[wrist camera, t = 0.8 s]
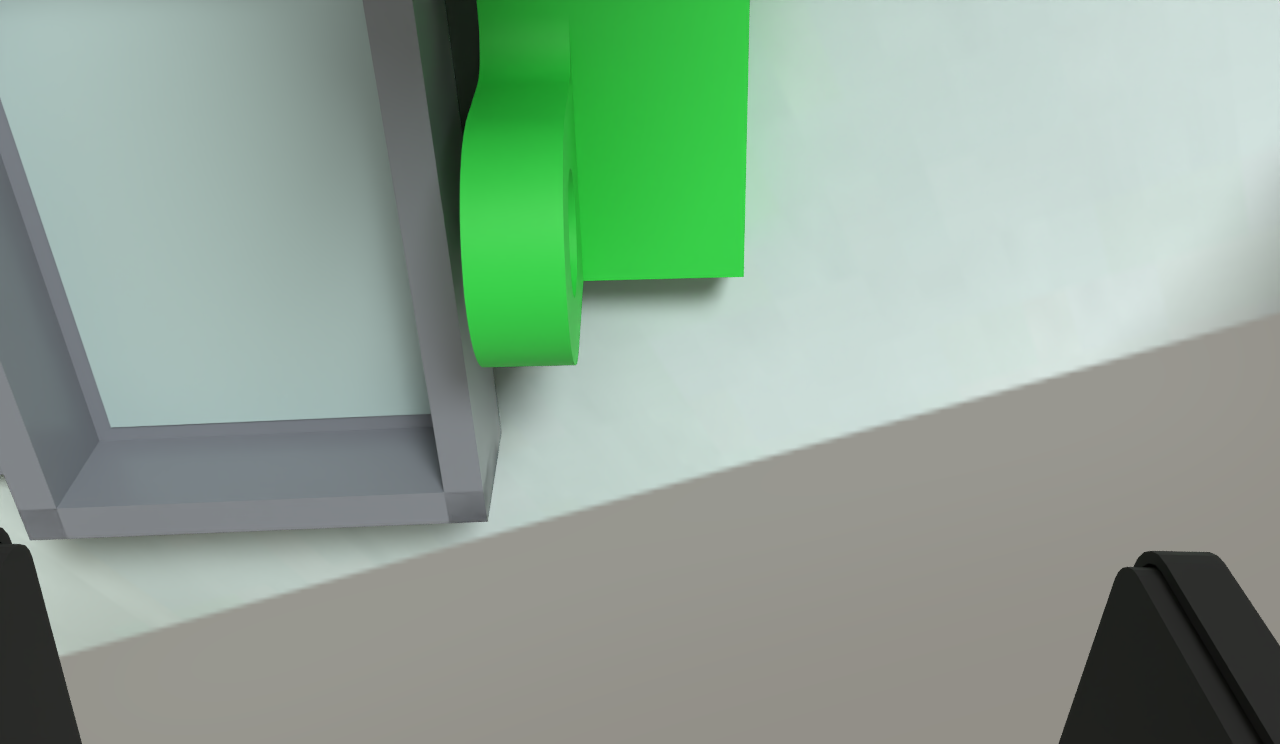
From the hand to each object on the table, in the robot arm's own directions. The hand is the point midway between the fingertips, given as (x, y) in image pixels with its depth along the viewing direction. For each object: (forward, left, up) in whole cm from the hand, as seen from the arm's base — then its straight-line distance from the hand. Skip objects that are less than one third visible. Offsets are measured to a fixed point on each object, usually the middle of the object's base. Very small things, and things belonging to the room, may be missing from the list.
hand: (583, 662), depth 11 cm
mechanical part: (0, 0, -22) cm, 22 cm away
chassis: (+14, +4, -21) cm, 26 cm away
